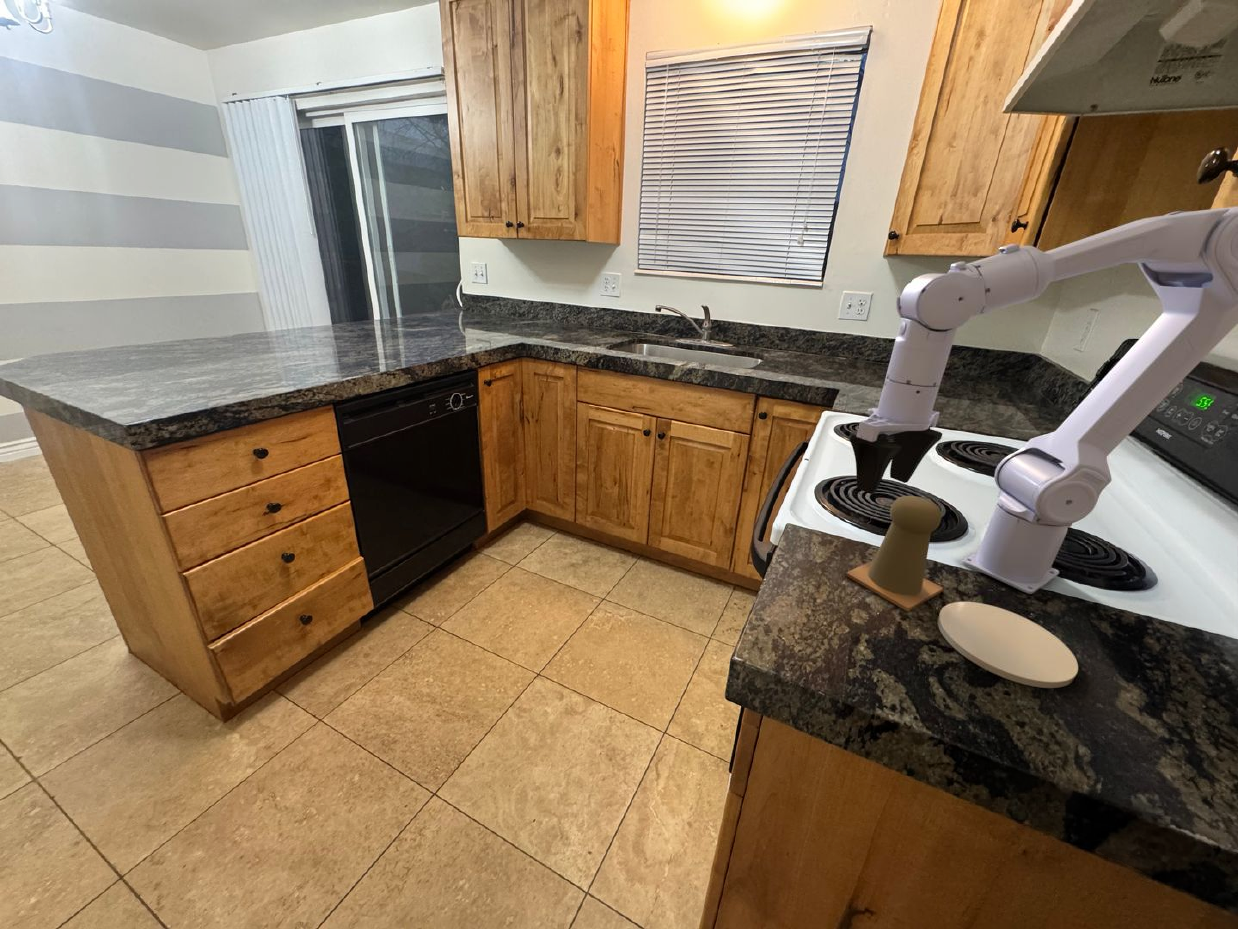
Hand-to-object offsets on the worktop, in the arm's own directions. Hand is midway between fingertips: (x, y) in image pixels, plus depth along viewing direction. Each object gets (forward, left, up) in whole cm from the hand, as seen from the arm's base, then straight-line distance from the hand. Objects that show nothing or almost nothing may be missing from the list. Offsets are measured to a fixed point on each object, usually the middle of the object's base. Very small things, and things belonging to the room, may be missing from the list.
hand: (882, 485), depth 64 cm
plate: (+3, +18, -10) cm, 21 cm away
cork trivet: (+3, +6, -10) cm, 12 cm away
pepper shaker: (+3, +6, -10) cm, 12 cm away
